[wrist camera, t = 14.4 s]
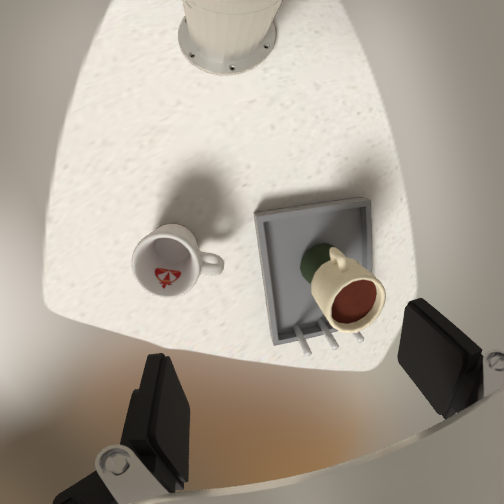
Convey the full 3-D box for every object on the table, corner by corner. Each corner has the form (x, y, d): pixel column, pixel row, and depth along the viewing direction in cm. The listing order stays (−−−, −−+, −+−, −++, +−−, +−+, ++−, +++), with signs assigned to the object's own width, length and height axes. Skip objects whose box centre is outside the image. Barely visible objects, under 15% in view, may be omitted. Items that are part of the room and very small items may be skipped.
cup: (228, 225, 40) (231, 243, 32) (217, 279, 42) (218, 307, 34) (149, 212, 38) (133, 227, 30) (143, 267, 40) (129, 292, 32)
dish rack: (253, 212, 39) (262, 227, 32) (362, 197, 40) (390, 207, 33) (270, 336, 46) (280, 367, 39) (362, 315, 47) (383, 340, 40)
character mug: (348, 285, 44) (389, 330, 32) (306, 302, 44) (336, 354, 32) (333, 219, 40) (379, 248, 28) (285, 236, 40) (316, 274, 28)
